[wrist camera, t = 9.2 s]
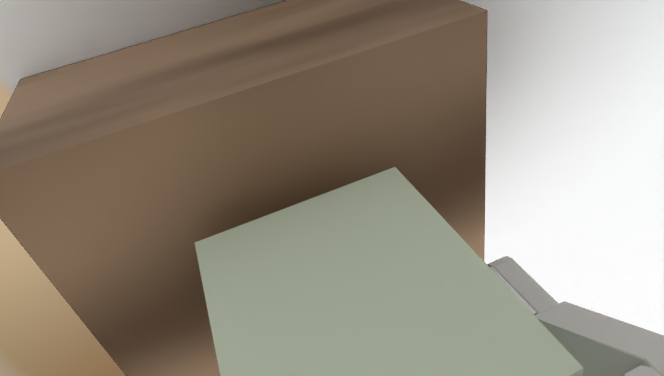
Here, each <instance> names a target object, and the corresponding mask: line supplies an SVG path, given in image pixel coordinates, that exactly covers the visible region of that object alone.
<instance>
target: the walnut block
mask: <svg viewBox="0 0 664 376" xmlns="http://www.w3.org/2000/svg"><path fill="white" fill-rule="evenodd" d="M486 75H487V10H484V9H482V8H479V7H476V6H473V5H471V4H468V3H465V2H462V1H460V0H287V1H283V2H280V3H277V4H273V5H270V6H266V7H263V8H260V9H256V10H253V11H249V12H246V13H243V14H239V15H236V16H233V17H229V18H226V19H222V20H219V21H216V22H212V23H209V24H206V25H202V26H199V27H195V28H192V29H189V30H185V31H182V32H179V33H175V34H172V35H168V36H165V37H162V38H158V39H155V40H152V41H148V42H145V43H141V44H138V45H135V46H131V47H128V48H124V49H121V50H118V51H114V52H111V53H108V54H104V55H101V56H97V57H94V58H91V59H87V60H84V61H81V62H77V63H74V64H70V65H67V66H64V67H60V68H57V69H54V70H50V71H47V72H43V73H40V74H37V75H33V76H30V77H27V78H23V79H20V81H19V83H18V85H17V87H16V89H15V91H14V93H13V95H12V97H11V99H10V100H9V102H8V104H7V107H6V108H5V110H4V112H3V114H2V116H1V118H0V219H1V220H2V221H3V222H4V224H5V225H6V226H7V227H8V228H9V230H10V231H11V232H12V234H13V235H14V236H15V237H16V239H17V240H18V241H19V242H20V244H21V245H22V246H23V247H24V249H25V250H26V251H27V252H28V254H29V255H30V256H31V257H32V258H33V260H34V261H35V262H36V264H37V265H38V266H39V267H40V269H41V270H42V271H43V272H44V274H45V275H46V276H47V277H48V278H49V280H50V281H51V282H52V284H53V285H54V286H55V287H56V289H57V290H58V291H59V292H60V293H61V295H62V296H63V297H64V299H65V300H66V301H67V302H68V304H69V305H70V306H71V307H72V309H73V310H74V311H75V312H76V314H77V315H78V316H79V317H80V319H81V320H82V321H83V322H84V324H85V325H86V326H87V327H88V329H89V330H90V331H91V332H92V334H93V335H94V336H95V338H96V339H97V340H98V341H99V342H100V344H101V345H102V346H103V347H104V349H105V350H106V351H107V352H108V354H109V355H110V356H111V357H112V359H113V360H114V361H115V362H116V363H117V365H118V366H119V367H120V369H121V370H122V371H123V373H124V374H125V375H126V376H220V371H219V366H218V361H217V356H216V351H215V346H214V341H213V335H212V330H211V325H210V320H209V315H208V310H207V305H206V299H205V294H204V289H203V284H202V279H201V274H200V269H199V264H198V258H197V253H196V248H195V242H197V241H200V240H203V239H205V238H208V237H211V236H213V235H216V234H219V233H221V232H224V231H227V230H229V229H232V228H234V227H237V226H240V225H242V224H245V223H248V222H250V221H253V220H256V219H258V218H261V217H264V216H266V215H269V214H271V213H274V212H277V211H279V210H282V209H285V208H287V207H290V206H293V205H295V204H298V203H301V202H303V201H306V200H308V199H311V198H314V197H316V196H319V195H322V194H324V193H327V192H330V191H332V190H335V189H338V188H340V187H343V186H345V185H348V184H351V183H353V182H356V181H359V180H361V179H364V178H367V177H369V176H372V175H375V174H377V173H380V172H382V171H385V170H388V169H390V168H393V167H396V168H397V169H398V170H399V171H400V173H401V174H402V175H403V176H404V177H405V178H406V179H407V180H408V181H409V182H410V183H411V184H412V185H413V186H414V187H415V189H416V190H417V191H418V192H419V193H420V194H421V195H422V196H423V197H424V198H425V199H426V200H427V201H428V202H429V203H430V205H431V206H432V207H433V208H434V209H435V210H436V211H437V212H438V213H439V214H440V215H441V216H442V217H443V218H444V219H445V221H446V222H447V223H448V224H449V225H450V226H451V227H452V228H453V229H454V230H455V231H456V232H457V233H458V234H459V235H460V237H461V238H462V239H463V240H464V241H465V242H466V243H467V244H468V245H469V246H470V247H471V248H472V249H473V250H474V251H475V253H476V254H477V255H478V256H479V257H480V258H481V259H482V260H483V261H484V234H485V155H486Z"/></svg>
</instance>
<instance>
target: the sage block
mask: <svg viewBox="0 0 664 376" xmlns="http://www.w3.org/2000/svg"><path fill="white" fill-rule="evenodd" d="M195 248H196V253H197V258H198V264H199V269H200V274H201V279H202V284H203V289H204V294H205V299H206V305H207V310H208V315H209V320H210V325H211V330H212V335H213V341H214V346H215V351H216V356H217V361H218V366H219V371H220V376H582V373H583V369H584V368H583V367H582V366H581V365H580V364H579V362H578V361H577V360H576V359H575V358H574V357H573V356H572V355H571V354H570V353H569V352H568V351H567V350H566V349H565V348H564V346H563V345H562V344H561V343H560V342H559V341H558V340H557V339H556V338H555V337H554V336H553V335H552V334H551V333H550V332H549V330H548V329H547V328H546V327H545V326H544V325H543V324H542V323H541V322H540V321H539V320H538V319H537V318H536V317H535V316H534V314H533V313H532V312H531V311H530V310H529V309H528V308H527V307H526V306H525V305H524V304H523V303H522V302H521V301H520V300H519V298H518V297H517V296H516V295H515V294H514V293H513V292H512V291H511V290H510V289H509V288H508V287H507V286H506V285H505V284H504V282H503V281H502V280H501V279H500V278H499V277H498V276H497V275H496V274H495V273H494V272H493V271H492V270H491V269H490V268H489V266H488V265H487V264H486V263H485V262H484V261H483V260H482V259H481V258H480V257H479V256H478V255H477V254H476V253H475V251H474V250H473V249H472V248H471V247H470V246H469V245H468V244H467V243H466V242H465V241H464V240H463V239H462V238H461V237H460V235H459V234H458V233H457V232H456V231H455V230H454V229H453V228H452V227H451V226H450V225H449V224H448V223H447V222H446V221H445V219H444V218H443V217H442V216H441V215H440V214H439V213H438V212H437V211H436V210H435V209H434V208H433V207H432V206H431V205H430V203H429V202H428V201H427V200H426V199H425V198H424V197H423V196H422V195H421V194H420V193H419V192H418V191H417V190H416V189H415V187H414V186H413V185H412V184H411V183H410V182H409V181H408V180H407V179H406V178H405V177H404V176H403V175H402V174H401V173H400V171H399V170H398V169H397V168H396V167H393V168H390V169H388V170H385V171H382V172H380V173H377V174H375V175H372V176H369V177H367V178H364V179H361V180H359V181H356V182H353V183H351V184H348V185H345V186H343V187H340V188H338V189H335V190H332V191H330V192H327V193H324V194H322V195H319V196H316V197H314V198H311V199H308V200H306V201H303V202H301V203H298V204H295V205H293V206H290V207H287V208H285V209H282V210H279V211H277V212H274V213H271V214H269V215H266V216H264V217H261V218H258V219H256V220H253V221H250V222H248V223H245V224H242V225H240V226H237V227H234V228H232V229H229V230H227V231H224V232H221V233H219V234H216V235H213V236H211V237H208V238H205V239H203V240H200V241H197V242H195Z"/></svg>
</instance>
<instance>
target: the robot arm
mask: <svg viewBox="0 0 664 376" xmlns="http://www.w3.org/2000/svg"><path fill="white" fill-rule="evenodd" d="M488 266H489V268H490V269H491V270H492V271H493V272H494V273H495V274H496V275H497V276H498V277H499V278H500V279H501V280H502V281H503V282H504V284H505V285H506V286H507V287H508V288H509V289H510V290H511V291H512V292H513V293H514V294H515V295H516V296H517V297H518V298H519V300H520V301H521V302H522V303H523V304H524V305H525V306H526V307H527V308H528V309H529V310H530V311H531V312H532V313H533V314H534V316H535V317H536V318H537V319H538V320H539V321H540V322H541V323H542V324H543V325H544V326H545V327H546V328H547V329H548V330H549V332H550V333H551V334H552V335H553V336H554V337H555V338H556V339H557V340H558V341H559V342H560V343H561V344H562V345H563V346H564V348H565V349H566V350H567V351H568V352H569V353H570V354H571V355H572V356H573V357H574V358H575V359H576V360H577V361H578V362H579V364H580V365H581V366H582V367H583V368H584V369H583V373H582V376H664V336H663V335H660V334H657V333H655V332H652V331H649V330H646V329H643V328H640V327H637V326H634V325H631V324H628V323H626V322H623V321H620V320H617V319H614V318H611V317H608V316H605V315H602V314H600V313H597V312H594V311H591V310H588V309H585V308H582V307H579V306H576V305H574V304H571V303H568V302H565V301H564V302H562V303H558V302H557V301H556V300H554V299H553V298H552V297H551V296H550V295H549V294H548V293H547V292H546V291H545V290H544V289H543V288H542V287H541V286H540V285H539V284H538V283H537V282H536V281H535V280H534V279H533V278H532V277H531V276H530V275H529V274H528V273H526V272H525V271H524V270H523V269H522V268H521V267H520V266H519V265H518V264H517V263H516V262H515V261H514V260H513V259H512V258H510V257H508V256H506V257H503V258H500V259H498V260H496V261H494V262H492V263H490V264H488Z"/></svg>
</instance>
